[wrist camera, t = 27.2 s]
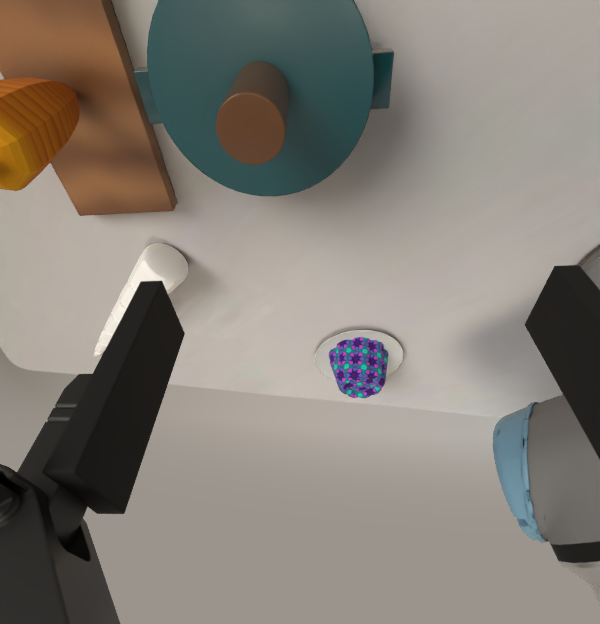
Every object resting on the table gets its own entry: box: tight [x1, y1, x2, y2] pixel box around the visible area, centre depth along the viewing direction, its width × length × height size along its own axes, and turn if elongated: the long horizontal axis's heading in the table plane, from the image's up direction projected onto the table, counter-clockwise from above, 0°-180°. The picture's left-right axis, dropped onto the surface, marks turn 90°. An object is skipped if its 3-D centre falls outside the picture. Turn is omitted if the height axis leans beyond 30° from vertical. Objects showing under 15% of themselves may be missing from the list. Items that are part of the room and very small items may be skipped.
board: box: [0, 0, 177, 216], centre depth 28 cm, size 20×9×2 cm, turn 4°
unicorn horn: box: [94, 243, 189, 356], centre depth 43 cm, size 5×24×5 cm, turn 136°
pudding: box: [314, 330, 403, 398], centre depth 49 cm, size 12×12×5 cm
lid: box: [147, 0, 374, 196], centre depth 22 cm, size 14×14×7 cm
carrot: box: [0, 77, 80, 191], centre depth 22 cm, size 5×5×15 cm
